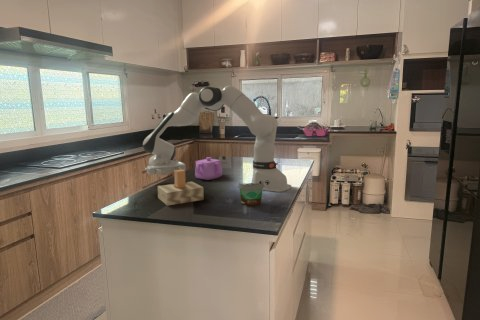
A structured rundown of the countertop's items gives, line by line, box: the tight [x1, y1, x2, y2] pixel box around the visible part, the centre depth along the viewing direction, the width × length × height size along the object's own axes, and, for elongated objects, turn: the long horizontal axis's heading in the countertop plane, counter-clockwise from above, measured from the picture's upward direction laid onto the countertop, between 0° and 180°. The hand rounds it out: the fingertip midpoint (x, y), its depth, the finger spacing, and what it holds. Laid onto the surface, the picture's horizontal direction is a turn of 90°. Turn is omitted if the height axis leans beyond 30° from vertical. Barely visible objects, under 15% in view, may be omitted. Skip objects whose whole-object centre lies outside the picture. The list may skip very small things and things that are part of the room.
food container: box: [237, 181, 264, 207], centre depth 152 cm, size 12×6×10 cm, turn 105°
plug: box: [173, 169, 186, 189], centre depth 161 cm, size 4×4×14 cm
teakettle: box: [194, 156, 223, 181], centre depth 208 cm, size 17×17×12 cm
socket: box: [157, 181, 205, 206], centre depth 162 cm, size 18×14×6 cm
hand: (171, 171), depth 171 cm, fingers open, 8 cm apart
